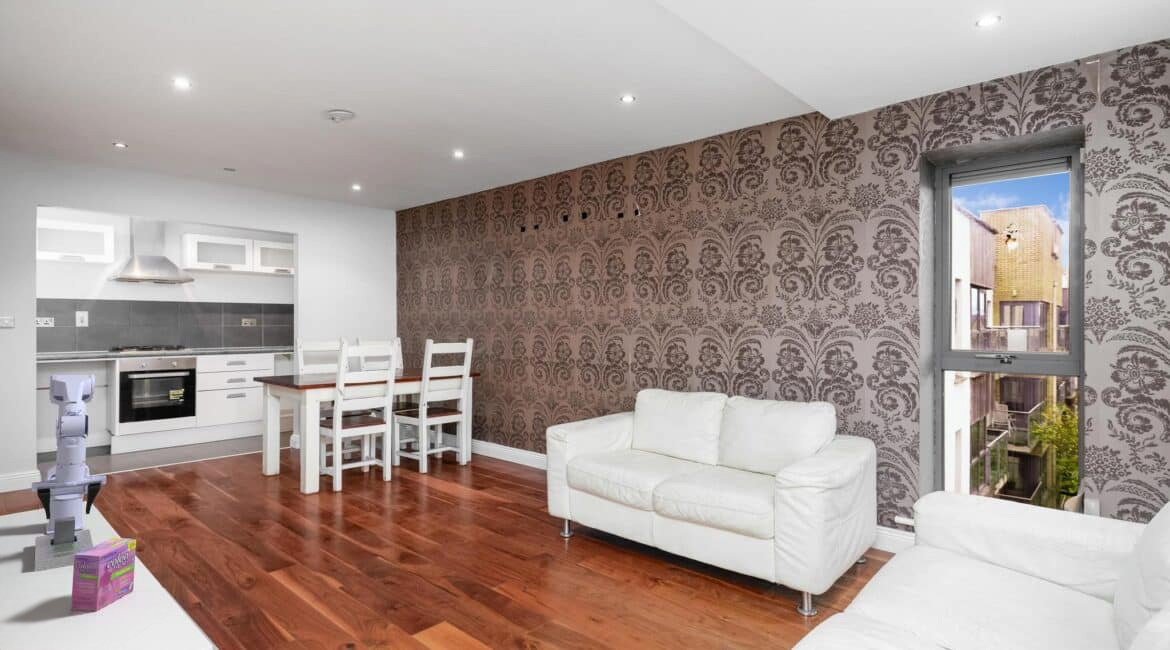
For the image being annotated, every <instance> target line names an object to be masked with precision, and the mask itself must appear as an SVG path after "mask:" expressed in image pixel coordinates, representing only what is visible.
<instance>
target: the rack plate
mask: <svg viewBox="0 0 1170 650" xmlns="http://www.w3.org/2000/svg"><path fill="white" fill-rule="evenodd" d="M34 539H35V543H34V572H39V571H44V570H50V569H56V568H57V569H58V568H61V567H62V566H63V567H68V566H67V565H69V566H74V565H73V564H74V555H75V554H77V553H80V552H82V551H84V550H87V549H89V548H91V547H93V546H94V544H93V540H92V539H93V538H92V534H91V531H90V528H89V529H88V528H87V529H80V530H75V535H74V542H70V543H64V544H57V545H53V541H54V533H52V534H47V535H39V536H35V538H34Z"/></svg>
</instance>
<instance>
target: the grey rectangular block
mask: <svg viewBox="0 0 1170 650" xmlns="http://www.w3.org/2000/svg"><path fill="white" fill-rule="evenodd" d="M75 531H76V530H75V516H73V517H65V518H57V519H55V521H54V533H53V534H54V541H53V545H57V544H64V543H70V542H74V535H75Z"/></svg>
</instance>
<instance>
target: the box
mask: <svg viewBox="0 0 1170 650" xmlns="http://www.w3.org/2000/svg"><path fill="white" fill-rule="evenodd" d="M136 547H137V539H135V538H127V537H126V538H125V537H124V538H123V537H111V538H110V539H107V540H104V541H102V542H100V543H98V544H96V545H93V547H91V548H89V549H87V550H84V551H82V552H80V553H77V554H75V555H74V565H73V572H72V587H71V588H72V590H71V604H70V605H71V606H70V611H80V612H81V611H82V612H98V611H100V610H102V609H103V608H105V607H106V606H109V605H110V604H112V603H114V602H116V601H117V600H119V599H120V598H123V597H124V596H127V595H128V594H129V593H131V592H133V591H134V586H135V584H134V583H135V582H134V581H135V563H136V562H135V561H136V549H137V548H136Z"/></svg>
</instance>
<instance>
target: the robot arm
mask: <svg viewBox="0 0 1170 650" xmlns="http://www.w3.org/2000/svg"><path fill="white" fill-rule="evenodd" d="M49 378H50V379H49V393H48V394H49V401H50V403H51V404H54V405H57V406H58V417H57V418H56V423H55V438H56V439H55V440H56V460H55V464H54V465H52V466H51V467H48V469H47V471H46V472H45V477H44V480H43V481H42V480H41V481H36V482H31V493H35V492H37V494H36V495H37V497H38V499H39V501H40V502H41V504H42V506H43V510H44V512H45V517H46V520H48V523H46V524H45V527H46V529H45V531H46V534H47V535H52V534H54V521H55V519H57V518H65V517H73V516H75V531H80V530H85V529H84V528H85V526H84V521H83V518H82V517H83V504H84V503H83V501H84V495H86V494H87V495H86V497H87V498H86V505H85V514H86V515H90V513H91V508H92V506H93V503H94V501H95V499H96V497H97V495H98V493H99V492H100V491H101V487H102V486H103V485H106V484H107V476H106V475H90V468H89V466H88V465H87V464H86V458H87V457H86V456H87V454H86V453H87V437H88V436H89V434H90V428H91V427H90V426H91V423H90V421H91V420H90V417H89V413H88V409H87V404H88V403H91V402H92V400H93V399H94V393H95V385H96V377H95V375H94V374H93V373H90V374H52V375H50V377H49ZM88 438H89V437H88Z"/></svg>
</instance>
